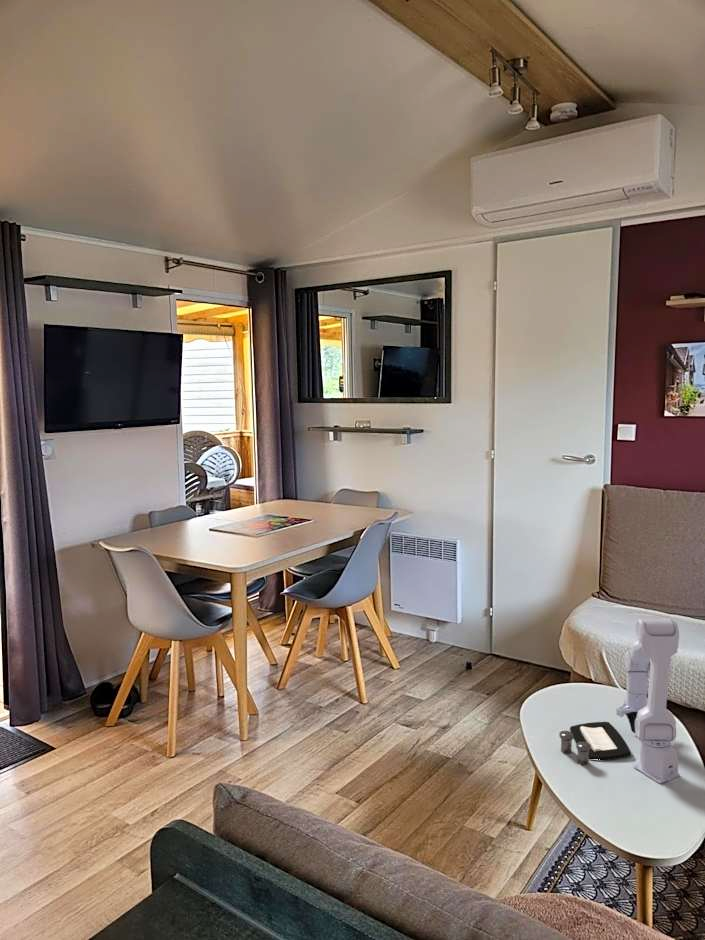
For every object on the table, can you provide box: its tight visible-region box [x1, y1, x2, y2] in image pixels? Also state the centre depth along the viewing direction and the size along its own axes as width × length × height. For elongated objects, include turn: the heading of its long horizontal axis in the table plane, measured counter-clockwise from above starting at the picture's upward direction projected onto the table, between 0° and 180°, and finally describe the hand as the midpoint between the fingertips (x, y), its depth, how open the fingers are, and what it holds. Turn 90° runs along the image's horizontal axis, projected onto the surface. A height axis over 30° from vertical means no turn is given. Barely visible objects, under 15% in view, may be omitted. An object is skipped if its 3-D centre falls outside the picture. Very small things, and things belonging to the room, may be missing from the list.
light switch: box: [569, 721, 632, 761], centre depth 215 cm, size 20×3×14 cm
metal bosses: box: [558, 730, 591, 766], centre depth 208 cm, size 11×4×5 cm, turn 26°
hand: (635, 732), depth 218 cm, fingers closed
